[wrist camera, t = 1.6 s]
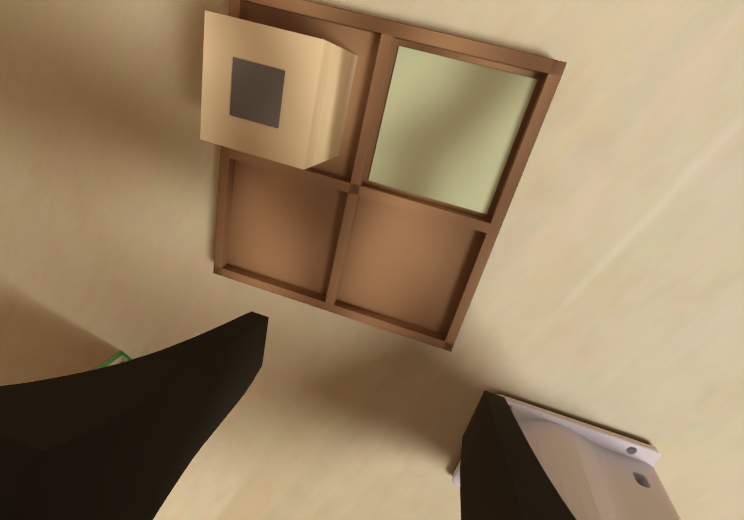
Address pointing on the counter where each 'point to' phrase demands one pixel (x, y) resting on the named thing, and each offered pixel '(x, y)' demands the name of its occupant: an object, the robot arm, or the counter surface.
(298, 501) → the counter surface
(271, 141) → the light wooden block
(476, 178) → the tray
